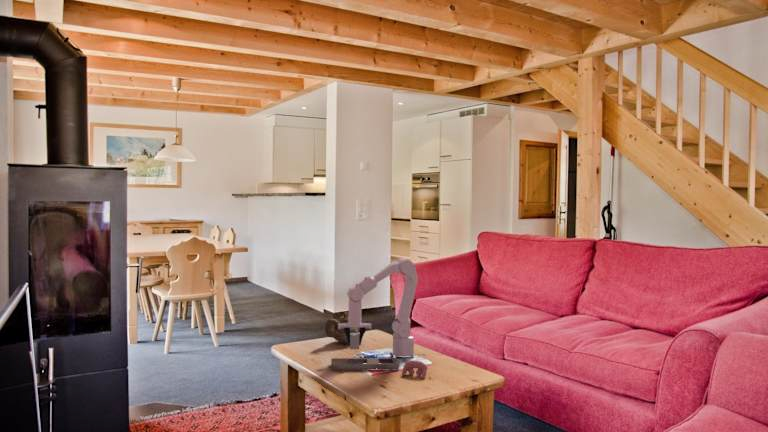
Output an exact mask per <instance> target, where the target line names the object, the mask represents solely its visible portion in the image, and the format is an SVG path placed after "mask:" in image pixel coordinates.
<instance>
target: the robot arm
mask: <svg viewBox="0 0 768 432" xmlns="http://www.w3.org/2000/svg"><path fill="white" fill-rule="evenodd" d="M392 274H402V276H403V278H405V283H404V287H403V292H402V294H401V295H402V296H401V299H400V304H399V310H398V313H397V314H396V315H395V317H394V320H393V321H392V323H391V329H392V331H393V334H392V352H393V355H395V356H410V357H414V353H415V352H414V351H415V349H414V348H415V347H414V346H415V344H414V343H415V342H414V336H413V335H410V334H411V332H412V331H411V330H412V329H411V318H410V316H411V312H412V309H413V308H412V307H413V302H414V298H415V295H416V290H417V286H418V282H419V275H418V272H417V269H416V265H415V263H413V261H412V260H411V259H407V258H406V257H402V256H400V257H397V259H394V260H392V261H391V262H390V263H389V264H388V265H387V266H385V267H384V268H383V269H381V270H379V272H377V273H376V274H374V275H373V276H365V277H363V279H362V280H361V281H360V282H359V283H355V284H354V285H355V286H351V287H349V288H348V290H347V292H346V295H347V297H348V312H347V313H348V323H342V324H338V329H344V331H345V334H346V336H347V339H348V346H350V329H355V328H359V331H358V333H359V346H361V344H362V340H363V337H364V336H365V333H366V330H367V329H369V330H371V329H372V323H370V322H362V310H363V309H362V306H363V305H362V301H363V298H364V296H366V295H367V294H368V293H370V292H371V291H372V290H374V289H375V288H377V287H378V286H377V285H378V283H379V282H381V281H383V280H384V279H386V278H388V277H389V276H391V275H392ZM361 322H362V323H361Z"/></svg>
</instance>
